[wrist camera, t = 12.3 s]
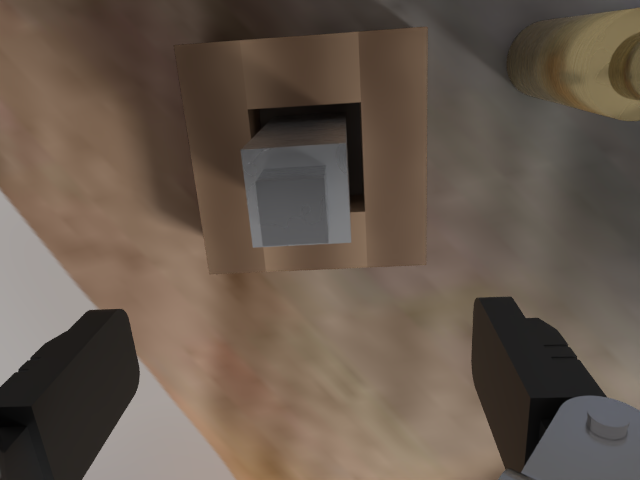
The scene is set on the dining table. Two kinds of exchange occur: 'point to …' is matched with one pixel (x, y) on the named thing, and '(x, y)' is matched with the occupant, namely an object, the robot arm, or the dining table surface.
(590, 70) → the round bit
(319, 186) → the square bit
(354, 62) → the socket block
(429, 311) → the dining table surface
